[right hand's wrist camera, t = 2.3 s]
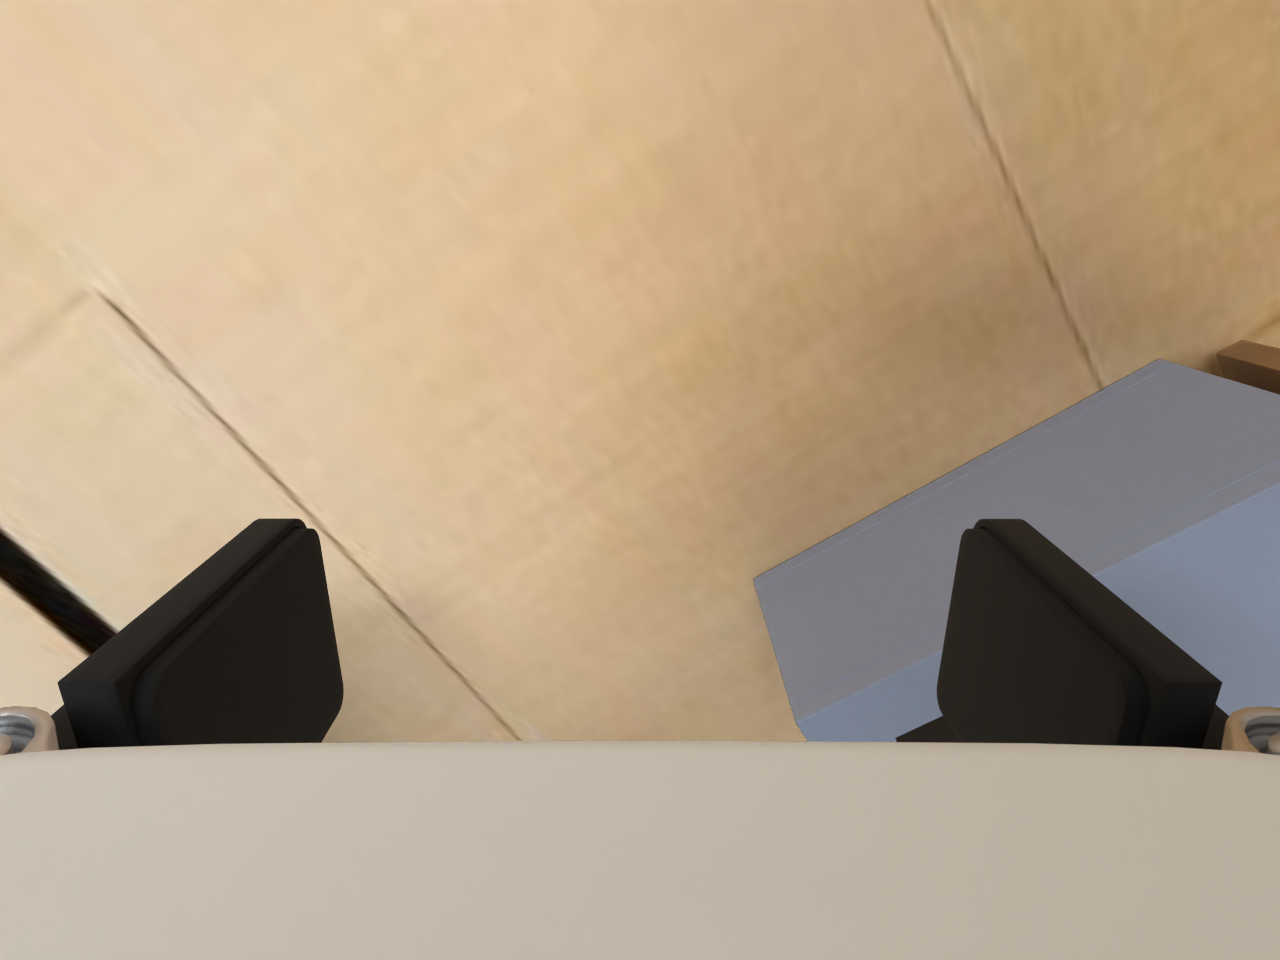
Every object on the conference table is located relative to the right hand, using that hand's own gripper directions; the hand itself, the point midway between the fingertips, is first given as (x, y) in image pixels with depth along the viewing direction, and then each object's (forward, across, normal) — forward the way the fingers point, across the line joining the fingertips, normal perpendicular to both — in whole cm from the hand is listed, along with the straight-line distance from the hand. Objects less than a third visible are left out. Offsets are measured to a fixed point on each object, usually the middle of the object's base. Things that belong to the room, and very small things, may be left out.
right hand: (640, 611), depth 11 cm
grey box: (+25, -18, +12) cm, 33 cm away
